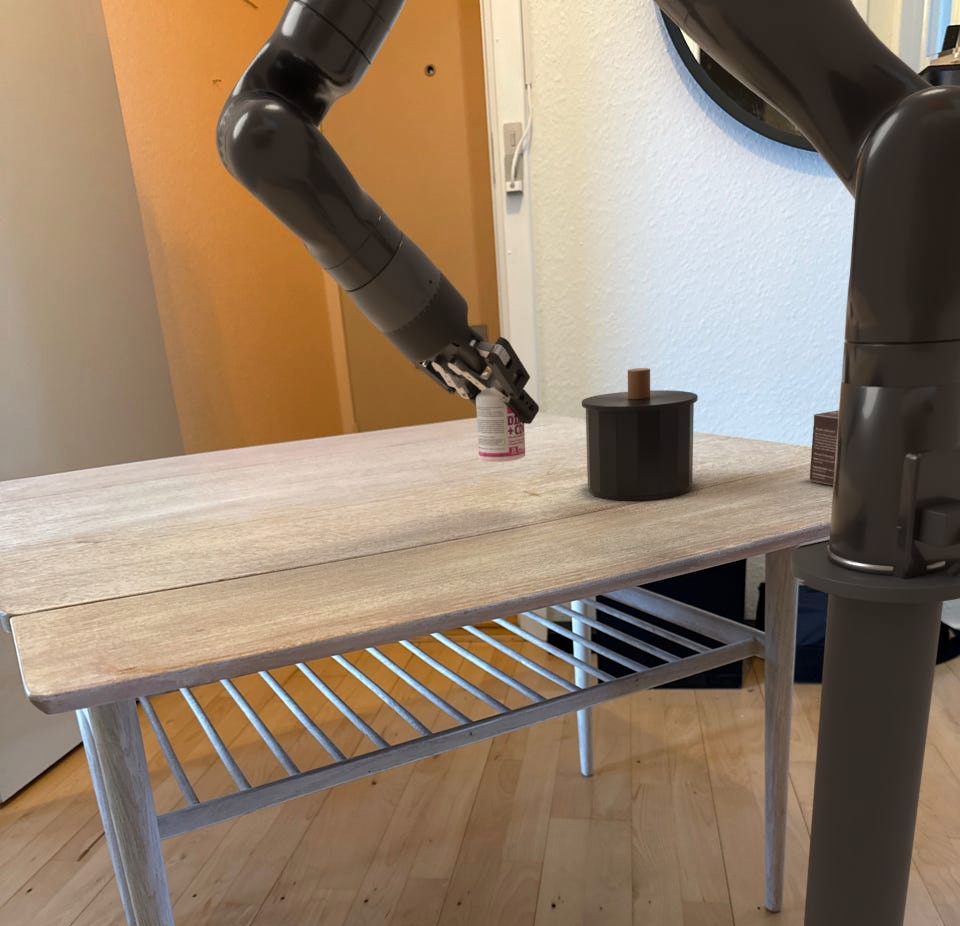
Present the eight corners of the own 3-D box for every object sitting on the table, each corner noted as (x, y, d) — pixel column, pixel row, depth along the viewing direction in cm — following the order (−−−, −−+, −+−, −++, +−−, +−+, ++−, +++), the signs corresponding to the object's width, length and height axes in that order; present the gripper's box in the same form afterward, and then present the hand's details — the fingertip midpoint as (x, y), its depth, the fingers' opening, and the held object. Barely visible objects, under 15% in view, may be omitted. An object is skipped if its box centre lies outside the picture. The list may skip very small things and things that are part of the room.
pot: (712, 489, 100) (714, 401, 97) (622, 506, 96) (621, 414, 93) (654, 473, 110) (654, 392, 107) (570, 487, 106) (567, 403, 103)
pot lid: (721, 406, 97) (722, 366, 95) (620, 421, 92) (619, 379, 91) (655, 397, 107) (655, 360, 106) (561, 409, 103) (560, 371, 102)
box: (849, 473, 103) (854, 406, 100) (892, 481, 98) (899, 411, 95) (807, 481, 101) (812, 413, 98) (850, 490, 96) (855, 419, 93)
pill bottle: (518, 462, 91) (513, 374, 87) (472, 462, 92) (467, 376, 89) (531, 453, 95) (527, 369, 92) (487, 453, 96) (482, 370, 93)
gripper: (476, 258, 77) (582, 388, 88) (384, 267, 88) (489, 382, 99) (430, 329, 76) (544, 452, 87) (342, 330, 87) (453, 439, 98)
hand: (514, 414), depth 93 cm, fingers closed on pill bottle, 4 cm apart
